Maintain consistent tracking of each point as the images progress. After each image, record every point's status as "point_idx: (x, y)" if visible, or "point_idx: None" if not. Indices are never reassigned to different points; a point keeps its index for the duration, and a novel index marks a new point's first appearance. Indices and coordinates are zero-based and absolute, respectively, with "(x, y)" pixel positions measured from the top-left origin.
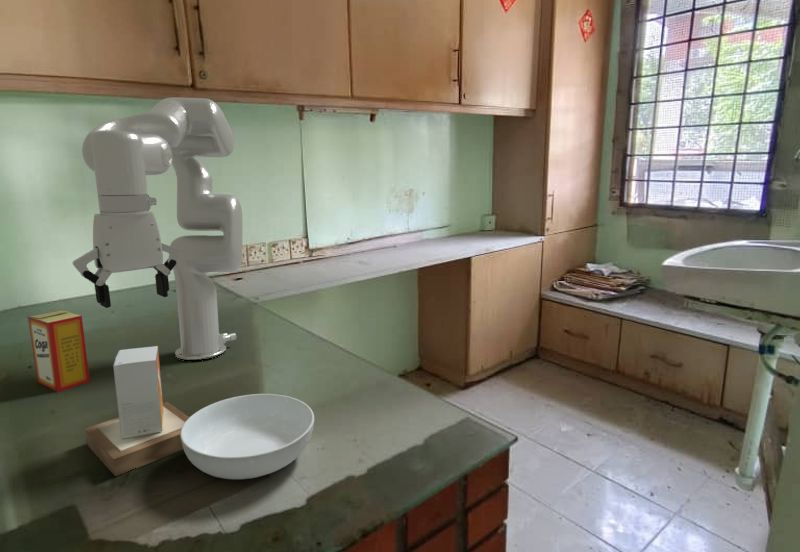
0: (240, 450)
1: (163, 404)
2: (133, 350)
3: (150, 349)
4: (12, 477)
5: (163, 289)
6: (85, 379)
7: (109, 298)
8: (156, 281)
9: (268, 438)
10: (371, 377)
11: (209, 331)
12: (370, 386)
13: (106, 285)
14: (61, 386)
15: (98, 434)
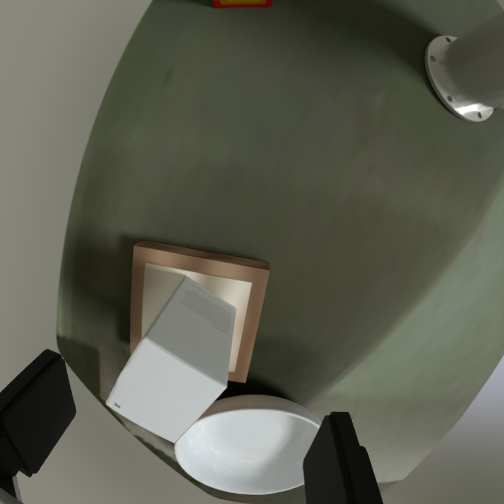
0: (248, 424)
1: (258, 275)
2: (165, 372)
3: (198, 395)
4: (68, 243)
5: (307, 490)
6: (264, 3)
7: (59, 435)
8: (335, 479)
9: (286, 428)
10: (472, 385)
11: (496, 100)
12: (450, 402)
13: (27, 475)
14: (221, 3)
15: (139, 283)
